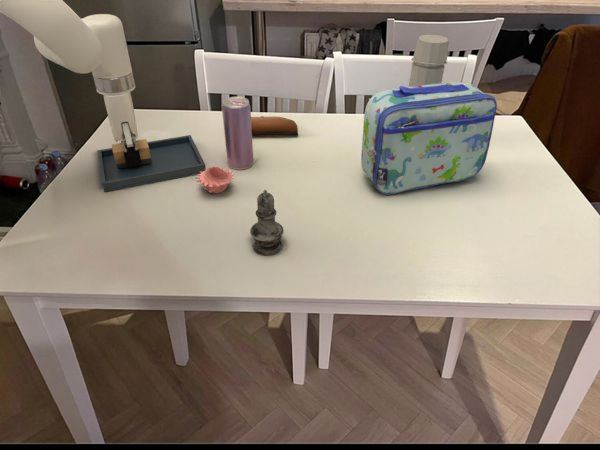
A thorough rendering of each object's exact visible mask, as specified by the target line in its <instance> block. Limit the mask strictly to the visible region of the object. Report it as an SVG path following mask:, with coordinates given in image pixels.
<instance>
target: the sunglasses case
mask: <svg viewBox="0 0 600 450" xmlns="http://www.w3.org/2000/svg"><path fill="white" fill-rule="evenodd" d="M251 126H252V135H253V134H255V135H269V134H270V135H288V134H289V135H291V134H292V135H296V136H299V134H298V129H299V128H298V124H297V123H296V122H295V120H293V119H289V118H287V117H283V116H264V115H263V116H251Z"/></svg>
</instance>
